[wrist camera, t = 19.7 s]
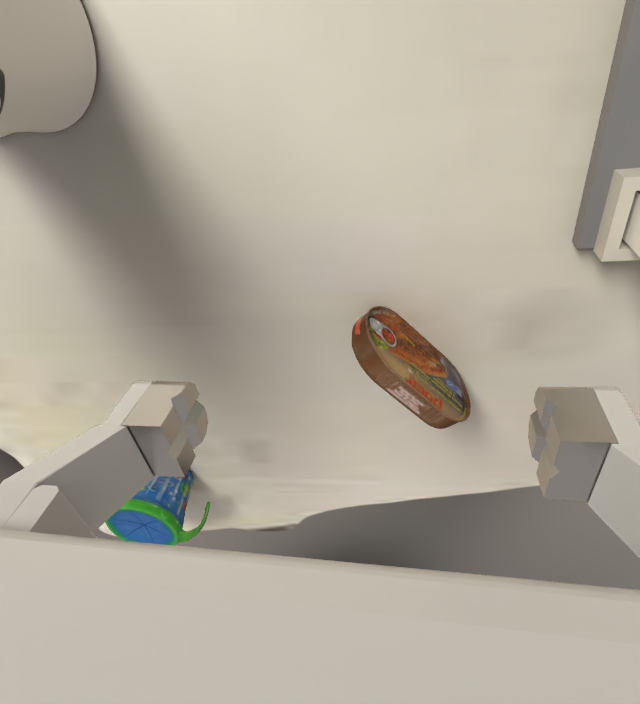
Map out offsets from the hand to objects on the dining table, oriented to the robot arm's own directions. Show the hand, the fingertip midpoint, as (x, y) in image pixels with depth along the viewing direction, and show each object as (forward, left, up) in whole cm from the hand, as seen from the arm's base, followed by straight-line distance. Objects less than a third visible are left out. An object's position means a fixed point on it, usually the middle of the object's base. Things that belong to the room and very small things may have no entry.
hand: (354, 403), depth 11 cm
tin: (+16, -14, -31) cm, 38 cm away
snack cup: (+7, -57, -31) cm, 65 cm away
